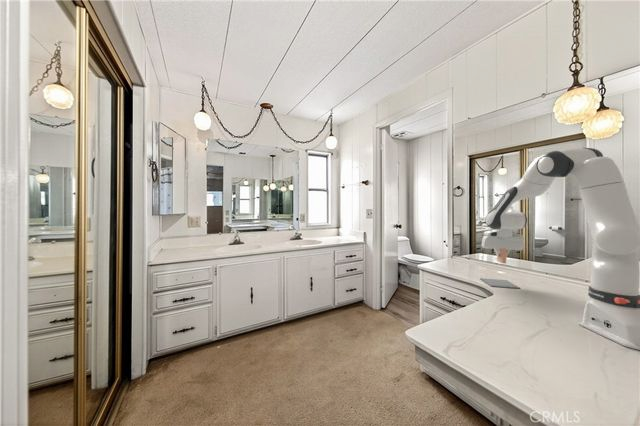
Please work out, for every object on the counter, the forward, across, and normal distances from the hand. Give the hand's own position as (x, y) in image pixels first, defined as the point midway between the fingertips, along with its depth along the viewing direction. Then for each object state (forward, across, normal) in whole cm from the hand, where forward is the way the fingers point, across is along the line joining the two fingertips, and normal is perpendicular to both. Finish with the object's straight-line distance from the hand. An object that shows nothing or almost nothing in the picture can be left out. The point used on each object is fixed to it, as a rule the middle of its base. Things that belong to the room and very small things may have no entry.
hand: (501, 256), depth 138 cm
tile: (+3, 0, 0) cm, 3 cm away
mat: (+15, +2, +2) cm, 16 cm away
